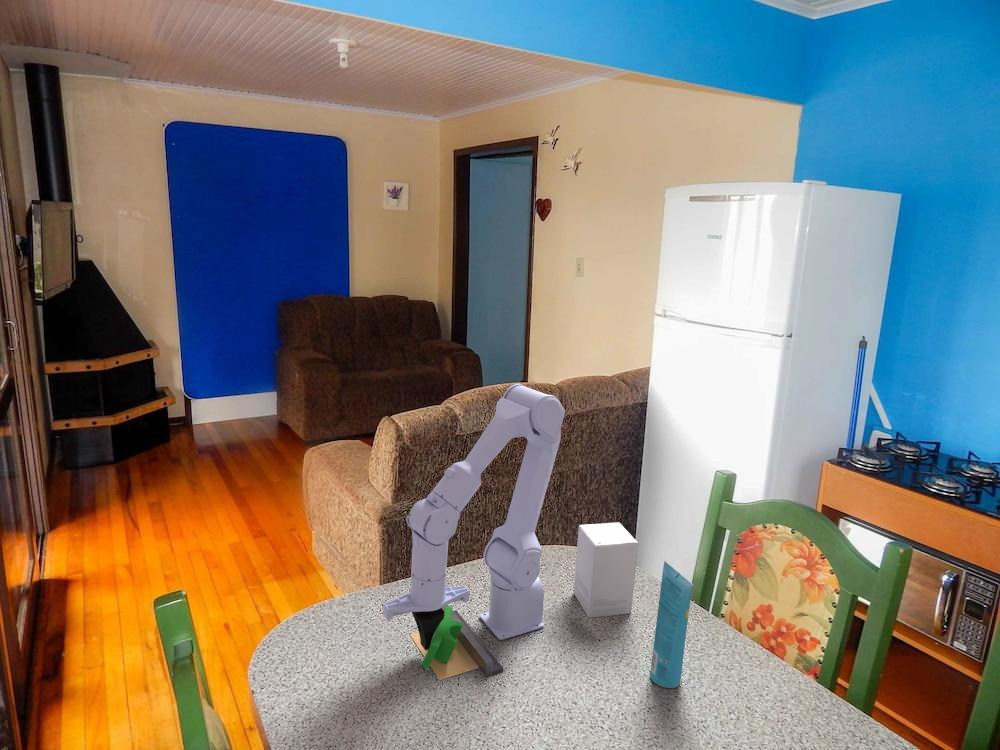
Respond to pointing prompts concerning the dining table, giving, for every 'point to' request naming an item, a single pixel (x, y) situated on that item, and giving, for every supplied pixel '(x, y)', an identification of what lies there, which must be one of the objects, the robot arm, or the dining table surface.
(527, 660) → the dining table surface
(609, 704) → the dining table surface
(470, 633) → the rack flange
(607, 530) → the supplement box
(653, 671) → the tube
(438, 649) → the pipe clamp
